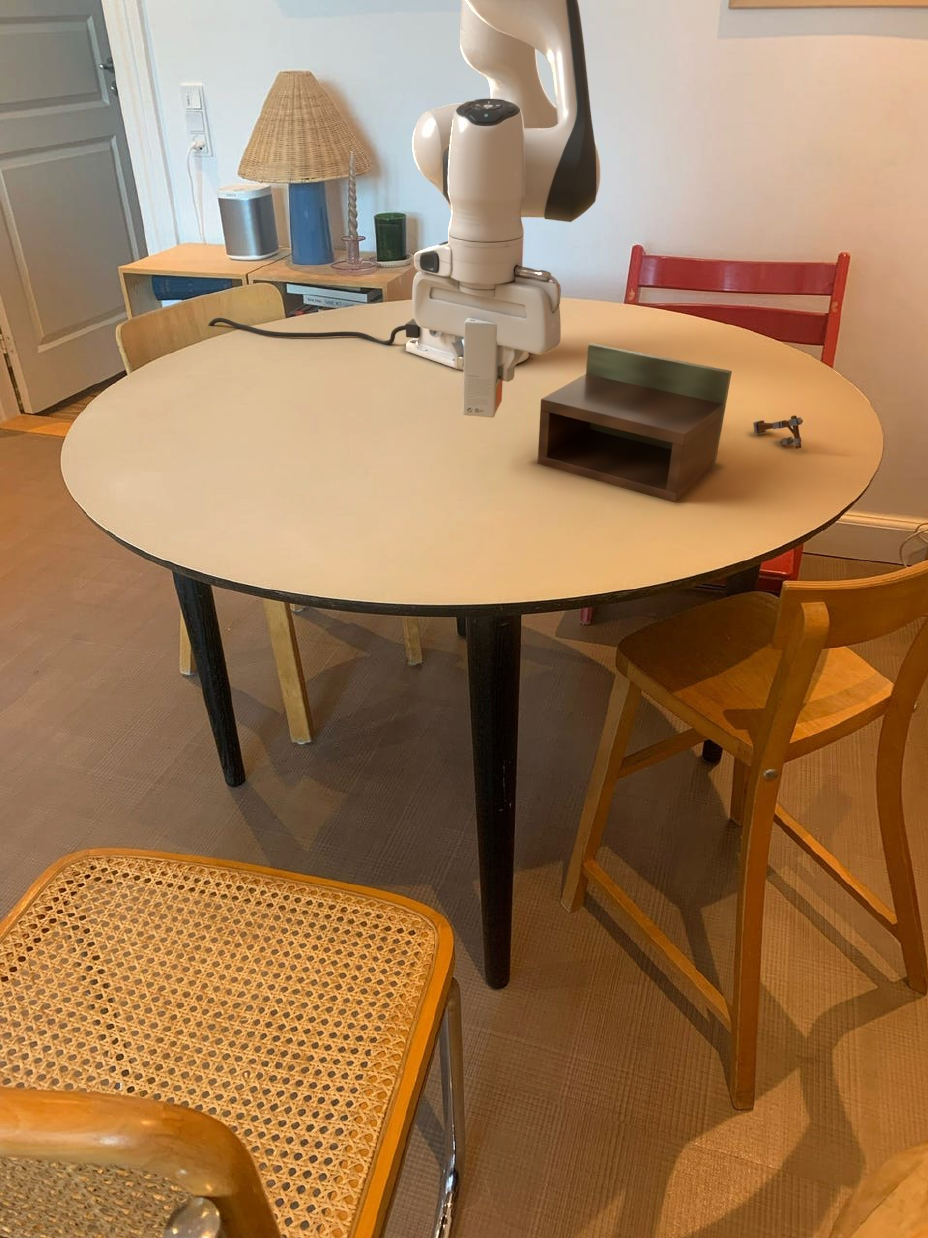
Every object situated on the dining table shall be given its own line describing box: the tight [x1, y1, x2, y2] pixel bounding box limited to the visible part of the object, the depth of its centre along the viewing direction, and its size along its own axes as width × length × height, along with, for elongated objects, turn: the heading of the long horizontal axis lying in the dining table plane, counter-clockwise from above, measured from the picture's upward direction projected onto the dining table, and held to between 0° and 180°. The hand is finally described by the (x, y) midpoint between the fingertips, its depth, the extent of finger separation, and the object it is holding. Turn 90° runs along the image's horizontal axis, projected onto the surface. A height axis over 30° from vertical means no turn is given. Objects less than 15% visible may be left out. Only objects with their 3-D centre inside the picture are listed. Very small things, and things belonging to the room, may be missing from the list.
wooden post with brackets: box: [752, 415, 804, 450], centre depth 122 cm, size 2×8×4 cm, turn 29°
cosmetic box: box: [462, 318, 504, 419], centre depth 110 cm, size 6×4×12 cm
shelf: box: [537, 342, 733, 503], centre depth 113 cm, size 20×13×13 cm, turn 55°
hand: (483, 373), depth 111 cm, fingers closed on cosmetic box, 5 cm apart
